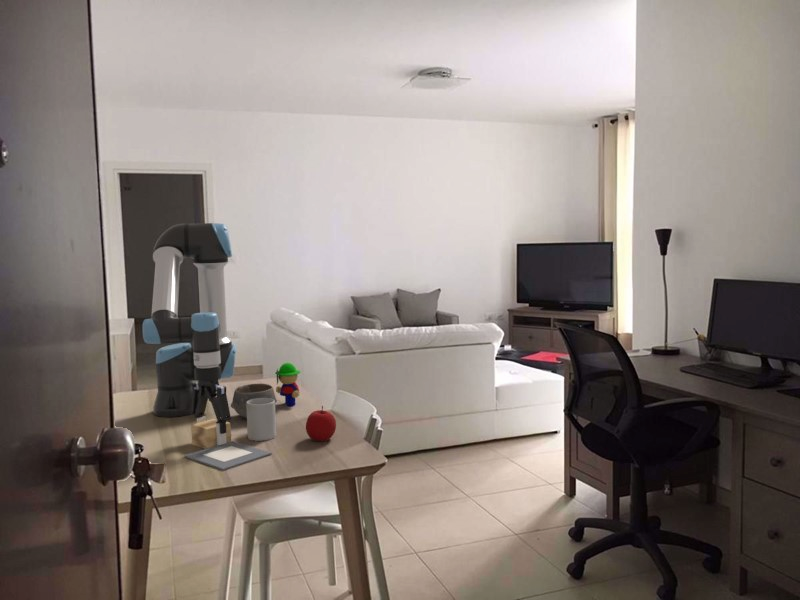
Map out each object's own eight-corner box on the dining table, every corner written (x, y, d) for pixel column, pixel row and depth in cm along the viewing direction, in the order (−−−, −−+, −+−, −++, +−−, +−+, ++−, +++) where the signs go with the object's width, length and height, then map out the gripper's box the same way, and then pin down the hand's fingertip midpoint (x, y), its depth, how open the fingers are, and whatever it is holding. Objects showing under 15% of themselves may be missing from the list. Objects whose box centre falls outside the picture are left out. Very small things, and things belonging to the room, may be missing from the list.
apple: (302, 437, 208) (301, 404, 207) (331, 433, 211) (330, 401, 210) (310, 446, 199) (309, 412, 198) (340, 441, 203) (339, 408, 202)
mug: (278, 439, 207) (277, 403, 206) (249, 442, 204) (248, 406, 203) (271, 428, 218) (270, 394, 217) (244, 431, 215) (242, 396, 214)
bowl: (260, 408, 242) (259, 380, 241) (286, 416, 231) (285, 387, 230) (224, 417, 232) (223, 387, 231) (249, 425, 221) (248, 395, 220)
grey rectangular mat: (184, 456, 192) (184, 454, 192) (232, 442, 204) (231, 440, 204) (223, 470, 180) (223, 468, 180) (271, 454, 192) (271, 452, 192)
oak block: (192, 444, 203) (191, 424, 203) (215, 437, 209) (214, 418, 209) (208, 449, 198) (207, 429, 198) (231, 442, 204) (230, 422, 204)
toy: (276, 400, 253) (275, 360, 251) (302, 399, 254) (301, 359, 252) (273, 408, 242) (272, 366, 240) (300, 407, 243) (299, 365, 241)
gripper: (175, 364, 205) (180, 438, 207) (218, 371, 192) (223, 450, 193) (197, 360, 211) (201, 433, 213) (241, 366, 197) (245, 444, 199)
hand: (212, 441), depth 203 cm, fingers open, 9 cm apart
